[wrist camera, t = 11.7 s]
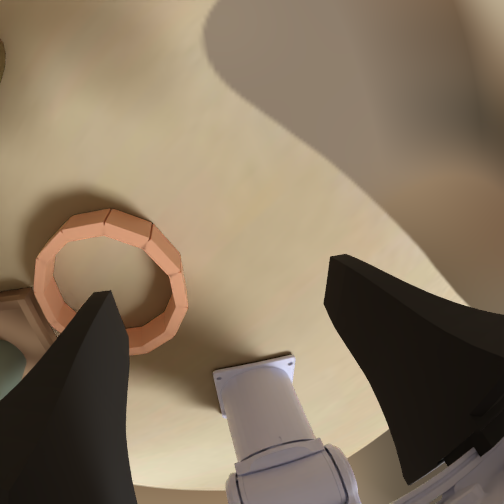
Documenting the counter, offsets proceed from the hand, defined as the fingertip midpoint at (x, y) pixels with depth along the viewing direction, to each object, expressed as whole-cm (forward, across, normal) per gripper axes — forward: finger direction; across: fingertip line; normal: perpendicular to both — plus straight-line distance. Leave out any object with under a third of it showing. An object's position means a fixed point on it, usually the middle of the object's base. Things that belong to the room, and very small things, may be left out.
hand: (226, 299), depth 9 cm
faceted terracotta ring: (+10, +7, +5) cm, 13 cm away
